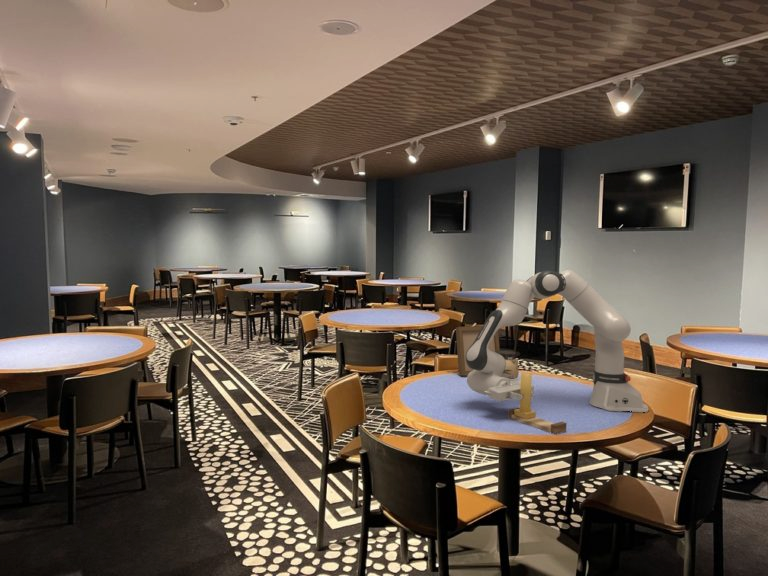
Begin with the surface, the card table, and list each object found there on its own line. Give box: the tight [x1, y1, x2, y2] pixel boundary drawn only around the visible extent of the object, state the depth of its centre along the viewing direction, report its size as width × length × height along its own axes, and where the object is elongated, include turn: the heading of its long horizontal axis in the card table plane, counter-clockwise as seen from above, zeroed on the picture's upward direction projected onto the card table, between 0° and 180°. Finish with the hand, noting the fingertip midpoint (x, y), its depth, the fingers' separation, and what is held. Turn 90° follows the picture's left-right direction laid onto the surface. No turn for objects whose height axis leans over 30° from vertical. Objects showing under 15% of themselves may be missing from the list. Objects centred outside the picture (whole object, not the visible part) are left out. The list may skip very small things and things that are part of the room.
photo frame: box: [455, 325, 501, 376], centre depth 280 cm, size 15×22×25 cm
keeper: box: [514, 372, 537, 419], centre depth 203 cm, size 6×5×16 cm
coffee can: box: [495, 349, 517, 361], centre depth 268 cm, size 10×10×14 cm
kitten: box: [502, 358, 520, 379], centre depth 250 cm, size 15×10×15 cm
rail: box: [507, 407, 567, 435], centre depth 199 cm, size 22×6×3 cm, turn 35°
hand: (527, 396), depth 202 cm, fingers closed on keeper, 4 cm apart
